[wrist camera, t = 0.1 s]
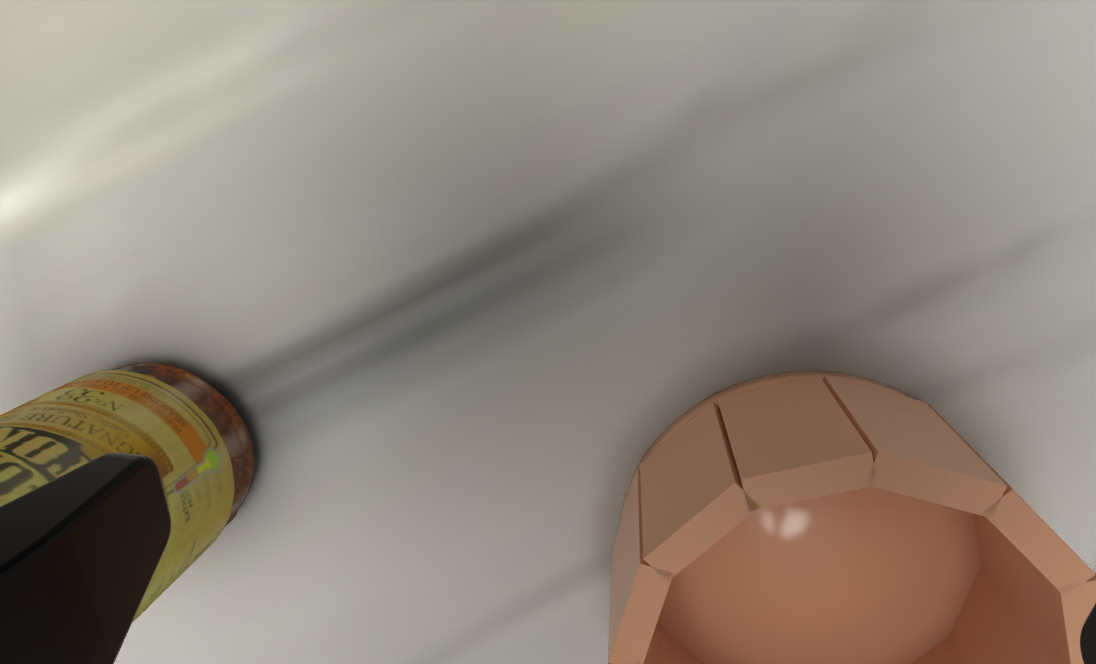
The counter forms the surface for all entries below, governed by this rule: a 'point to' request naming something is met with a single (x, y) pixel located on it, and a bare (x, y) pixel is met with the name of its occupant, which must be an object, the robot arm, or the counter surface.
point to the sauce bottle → (139, 449)
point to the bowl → (834, 539)
